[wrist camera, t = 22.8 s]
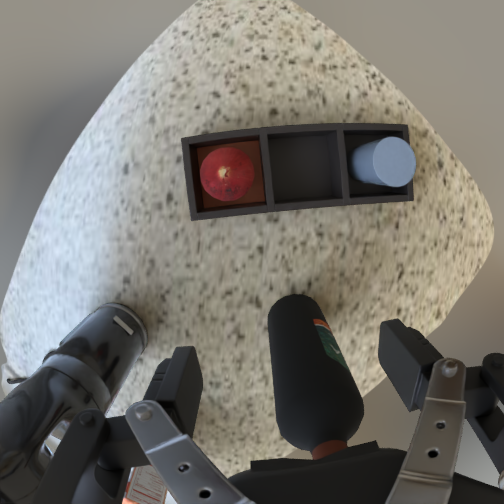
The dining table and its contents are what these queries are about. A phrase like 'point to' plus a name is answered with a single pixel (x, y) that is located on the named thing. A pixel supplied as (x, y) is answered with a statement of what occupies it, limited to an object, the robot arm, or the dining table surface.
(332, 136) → the holder
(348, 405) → the wine bottle
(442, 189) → the dining table surface
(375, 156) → the light blue cylinder
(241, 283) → the dining table surface
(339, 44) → the dining table surface
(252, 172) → the onion
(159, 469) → the robot arm
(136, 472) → the cracker box
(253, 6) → the dining table surface
